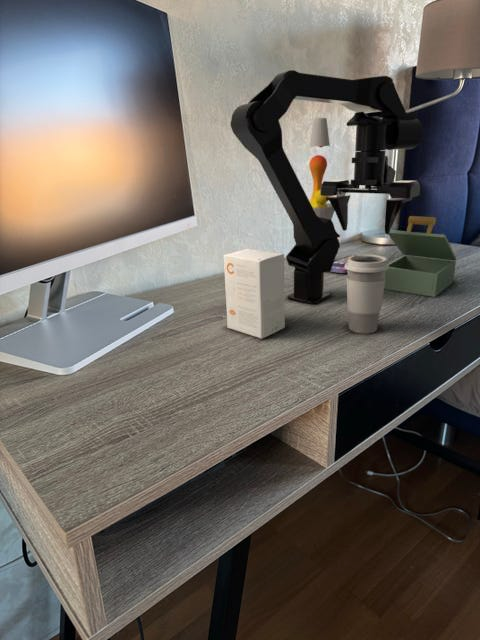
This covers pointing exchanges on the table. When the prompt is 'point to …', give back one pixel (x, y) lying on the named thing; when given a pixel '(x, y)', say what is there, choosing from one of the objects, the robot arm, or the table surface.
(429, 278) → the desk box
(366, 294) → the cup
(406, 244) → the box lid
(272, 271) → the small box
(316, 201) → the lava lamp
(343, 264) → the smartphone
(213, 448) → the table surface
